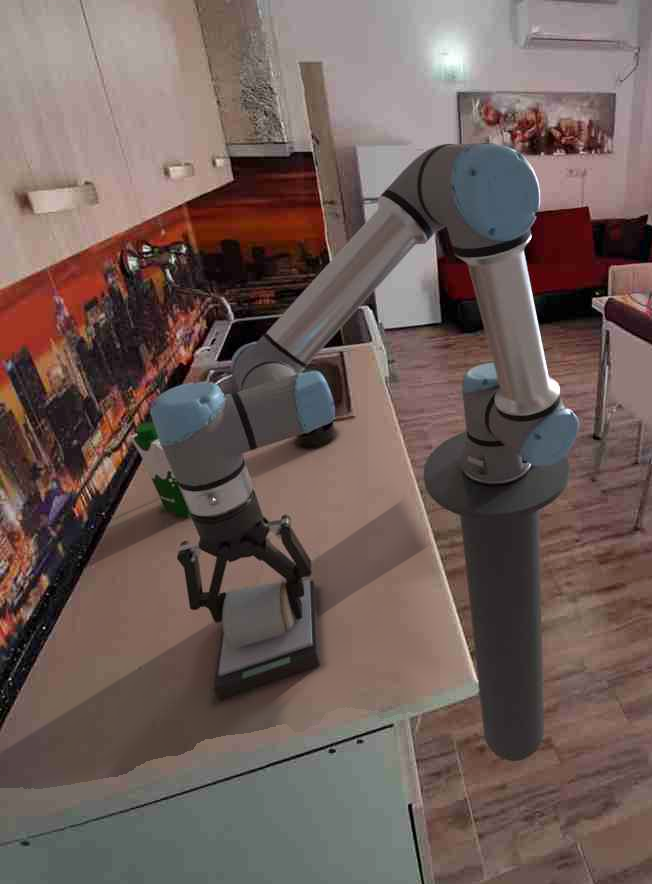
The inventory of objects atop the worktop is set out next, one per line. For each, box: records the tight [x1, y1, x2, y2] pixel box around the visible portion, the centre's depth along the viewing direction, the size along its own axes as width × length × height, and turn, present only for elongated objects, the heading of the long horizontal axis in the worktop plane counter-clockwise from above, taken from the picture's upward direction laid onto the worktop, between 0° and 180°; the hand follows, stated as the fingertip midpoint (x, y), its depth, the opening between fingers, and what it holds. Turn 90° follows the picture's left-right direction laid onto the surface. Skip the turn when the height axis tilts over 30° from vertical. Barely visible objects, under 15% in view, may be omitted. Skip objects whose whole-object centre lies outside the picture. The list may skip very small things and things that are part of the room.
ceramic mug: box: [221, 581, 294, 649], centre depth 74 cm, size 11×8×8 cm
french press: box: [290, 368, 337, 449], centre depth 121 cm, size 12×9×23 cm
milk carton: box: [129, 420, 191, 518], centre depth 101 cm, size 9×9×20 cm
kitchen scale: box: [213, 579, 321, 701], centre depth 75 cm, size 13×14×3 cm
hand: (267, 621), depth 75 cm, fingers closed on ceramic mug, 8 cm apart
